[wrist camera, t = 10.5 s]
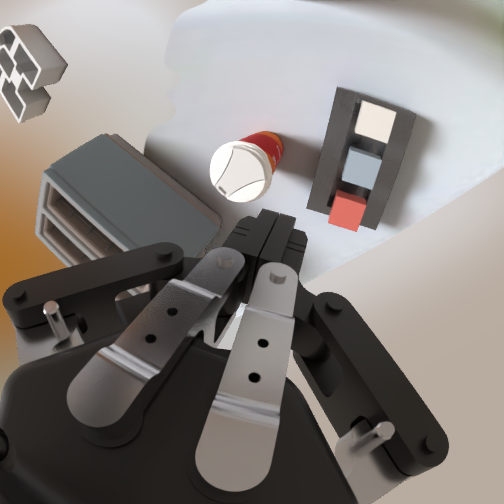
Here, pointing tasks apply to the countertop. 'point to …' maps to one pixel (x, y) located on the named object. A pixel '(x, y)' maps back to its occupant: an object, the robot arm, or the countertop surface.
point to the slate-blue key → (361, 168)
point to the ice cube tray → (27, 70)
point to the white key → (375, 121)
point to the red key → (347, 210)
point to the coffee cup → (246, 166)
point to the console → (344, 136)
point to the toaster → (117, 206)
